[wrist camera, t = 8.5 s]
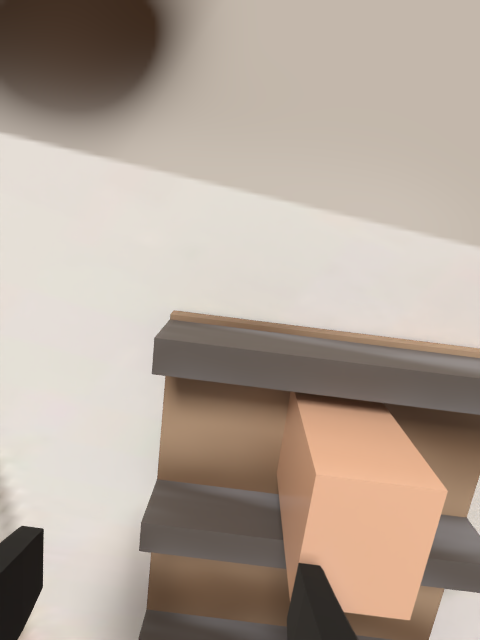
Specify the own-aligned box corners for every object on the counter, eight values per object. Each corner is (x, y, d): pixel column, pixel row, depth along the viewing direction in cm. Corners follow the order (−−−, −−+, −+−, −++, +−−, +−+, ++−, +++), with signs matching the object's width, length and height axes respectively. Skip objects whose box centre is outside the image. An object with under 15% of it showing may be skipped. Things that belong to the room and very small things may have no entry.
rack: (414, 652, 23) (445, 732, 20) (148, 619, 23) (129, 694, 20) (505, 351, 19) (567, 383, 15) (173, 310, 19) (154, 331, 15)
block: (354, 483, 20) (409, 620, 13) (276, 473, 20) (290, 605, 13) (375, 393, 18) (447, 491, 12) (292, 382, 18) (316, 474, 12)
